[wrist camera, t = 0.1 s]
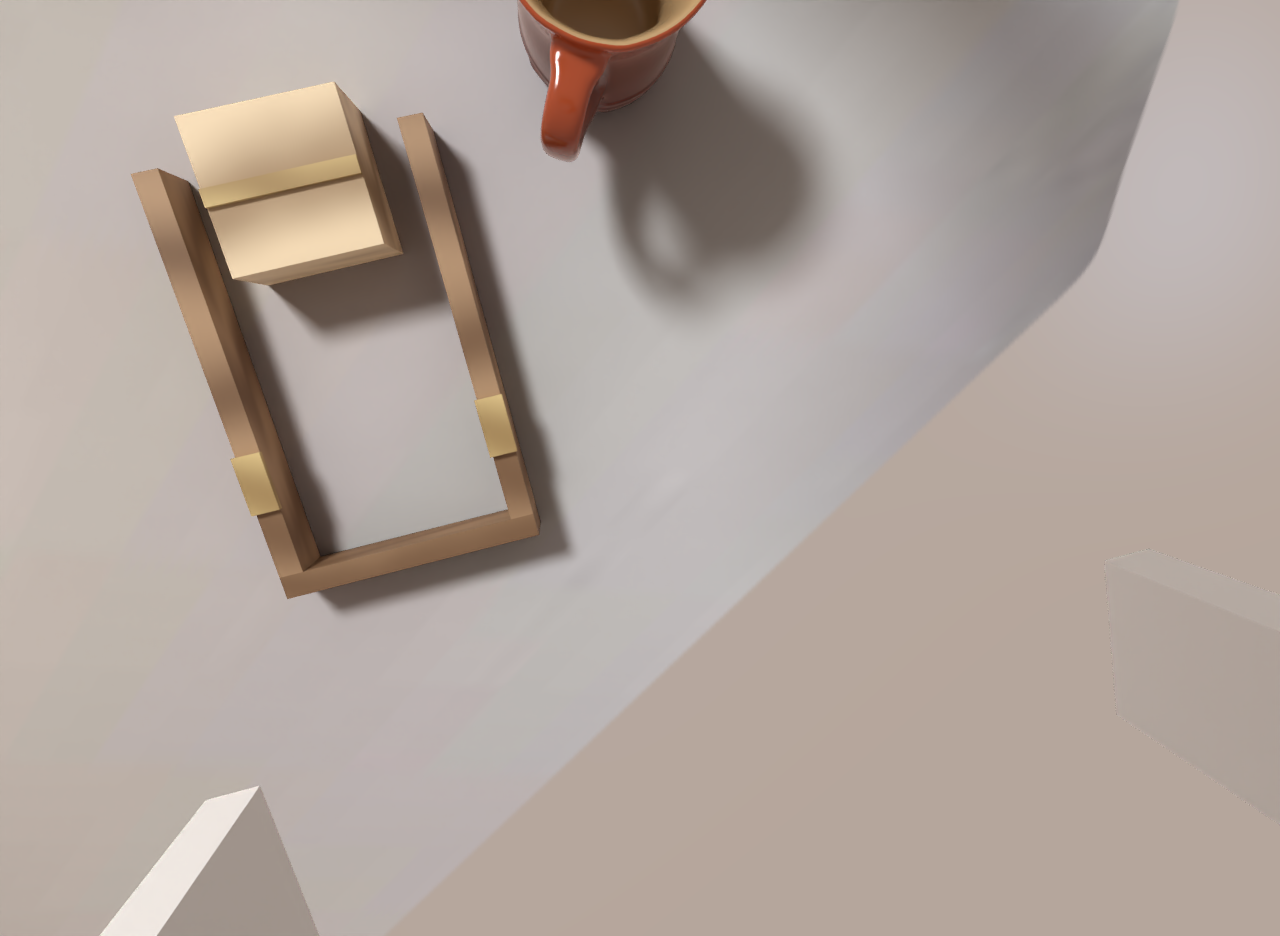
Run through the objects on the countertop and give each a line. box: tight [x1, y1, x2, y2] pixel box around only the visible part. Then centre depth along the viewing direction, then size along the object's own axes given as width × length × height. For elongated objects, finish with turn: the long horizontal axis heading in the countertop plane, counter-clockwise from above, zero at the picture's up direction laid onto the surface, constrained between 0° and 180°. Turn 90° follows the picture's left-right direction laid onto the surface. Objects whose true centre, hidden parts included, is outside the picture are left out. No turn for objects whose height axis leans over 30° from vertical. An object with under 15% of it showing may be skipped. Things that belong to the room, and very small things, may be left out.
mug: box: [517, 0, 706, 162], centre depth 29 cm, size 12×9×10 cm
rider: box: [174, 82, 403, 286], centre depth 31 cm, size 7×7×4 cm
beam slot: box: [131, 113, 541, 599], centre depth 34 cm, size 21×14×3 cm, turn 13°
